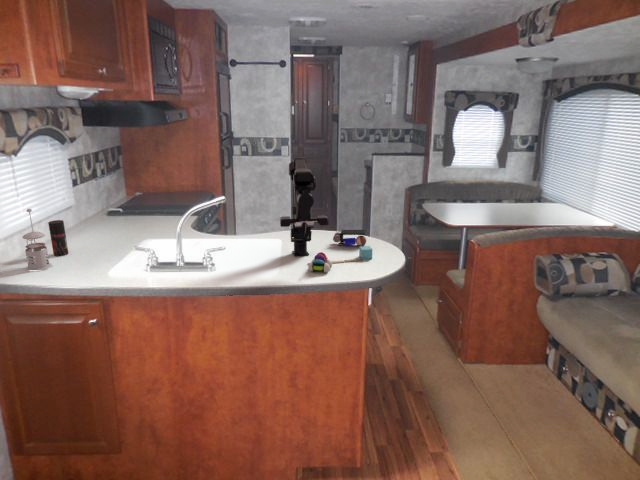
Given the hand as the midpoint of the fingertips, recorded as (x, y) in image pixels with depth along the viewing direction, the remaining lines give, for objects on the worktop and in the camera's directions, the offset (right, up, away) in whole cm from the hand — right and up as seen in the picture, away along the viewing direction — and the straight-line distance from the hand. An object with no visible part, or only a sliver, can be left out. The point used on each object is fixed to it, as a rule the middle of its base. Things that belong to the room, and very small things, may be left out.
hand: (304, 241), depth 198 cm
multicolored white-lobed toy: (+6, -12, +4) cm, 14 cm away
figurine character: (+20, -2, +36) cm, 42 cm away
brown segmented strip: (+13, -9, +13) cm, 20 cm away
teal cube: (+26, -7, +19) cm, 33 cm away
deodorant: (-110, -6, +25) cm, 113 cm away
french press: (-111, -11, +9) cm, 112 cm away
